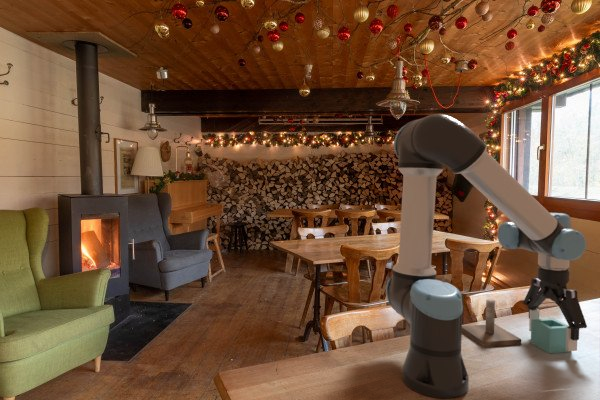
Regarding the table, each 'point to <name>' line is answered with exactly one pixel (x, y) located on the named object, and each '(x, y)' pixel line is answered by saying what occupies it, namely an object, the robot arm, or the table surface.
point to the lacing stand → (490, 331)
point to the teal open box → (549, 335)
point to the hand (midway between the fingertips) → (551, 340)
